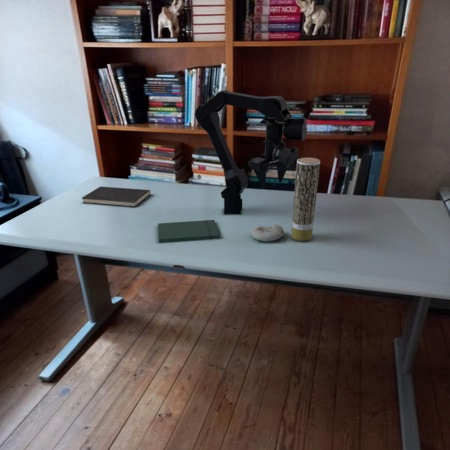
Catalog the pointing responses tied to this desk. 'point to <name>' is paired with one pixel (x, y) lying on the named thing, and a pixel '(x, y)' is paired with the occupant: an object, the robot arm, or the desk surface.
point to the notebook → (187, 231)
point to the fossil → (267, 233)
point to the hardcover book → (116, 196)
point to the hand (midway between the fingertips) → (271, 184)
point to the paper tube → (305, 198)
